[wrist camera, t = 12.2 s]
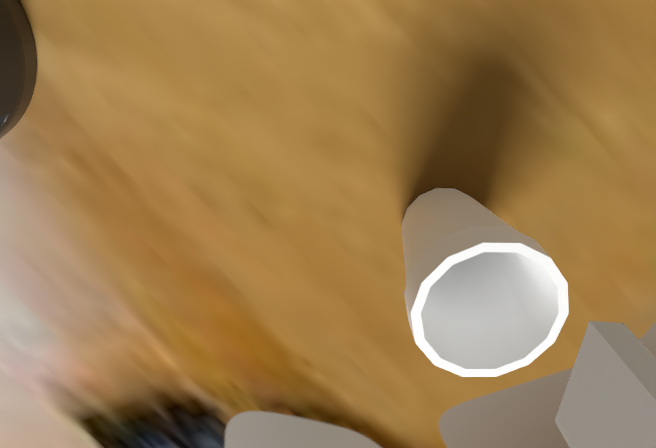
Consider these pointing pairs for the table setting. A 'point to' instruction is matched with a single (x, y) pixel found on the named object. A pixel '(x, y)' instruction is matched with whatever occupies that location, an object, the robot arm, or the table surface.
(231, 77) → the table surface
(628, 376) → the robot arm
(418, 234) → the foam cup
